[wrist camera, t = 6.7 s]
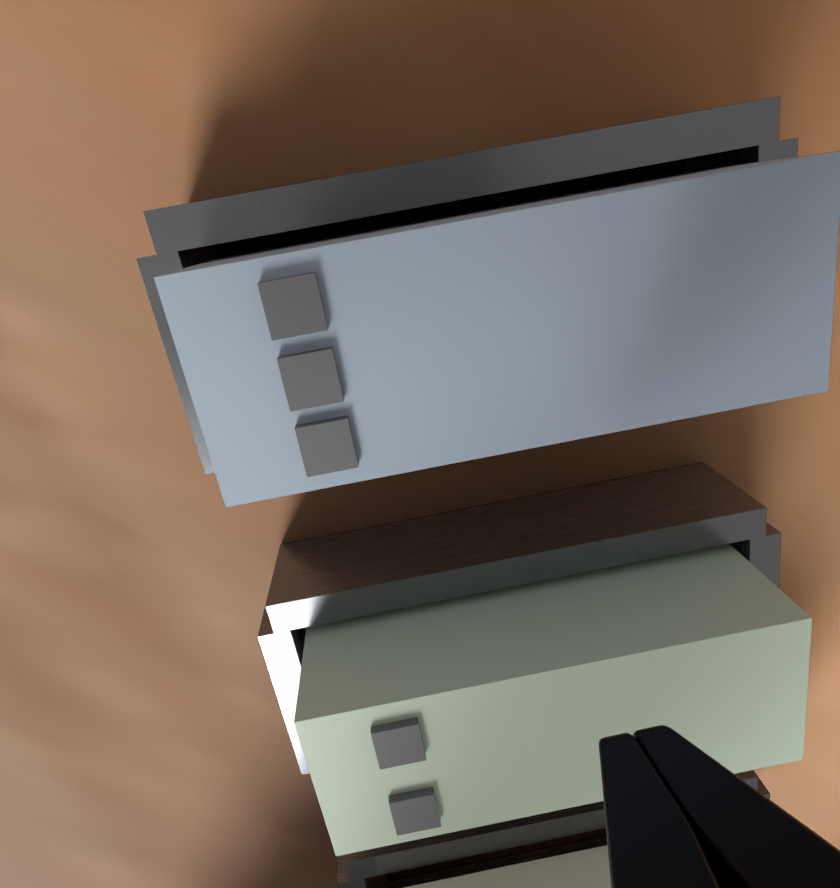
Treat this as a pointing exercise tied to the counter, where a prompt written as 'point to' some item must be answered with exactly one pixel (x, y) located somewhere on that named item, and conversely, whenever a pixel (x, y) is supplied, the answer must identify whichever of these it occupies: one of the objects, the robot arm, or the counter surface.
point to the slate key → (509, 325)
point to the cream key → (540, 873)
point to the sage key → (544, 692)
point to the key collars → (493, 525)
